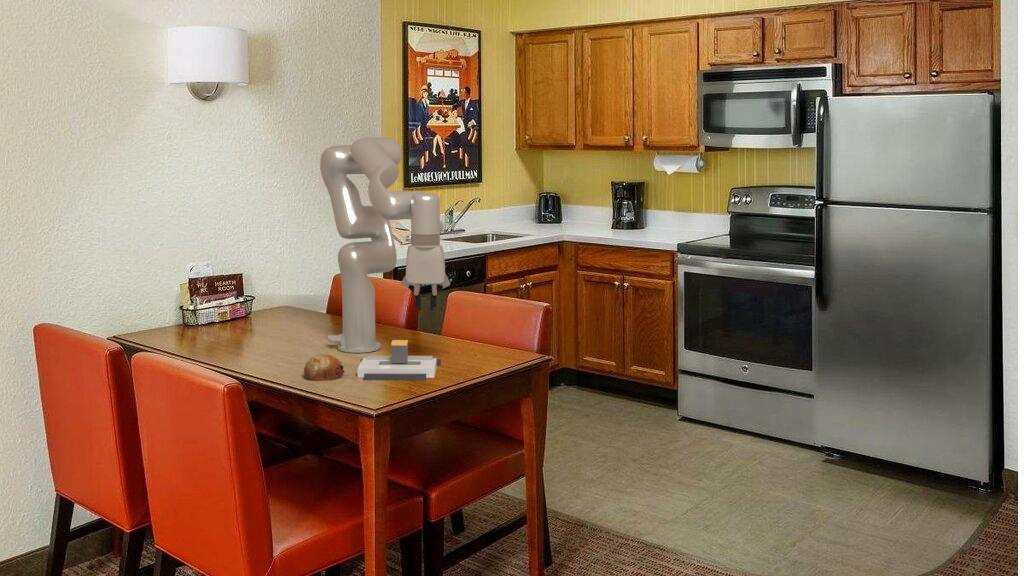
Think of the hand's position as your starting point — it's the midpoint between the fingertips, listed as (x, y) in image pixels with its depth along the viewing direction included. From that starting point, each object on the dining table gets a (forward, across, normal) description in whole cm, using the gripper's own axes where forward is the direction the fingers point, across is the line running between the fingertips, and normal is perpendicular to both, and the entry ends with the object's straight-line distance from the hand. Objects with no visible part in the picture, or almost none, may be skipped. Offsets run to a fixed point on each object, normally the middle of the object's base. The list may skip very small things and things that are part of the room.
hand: (425, 308), depth 256 cm
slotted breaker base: (+17, -8, 0) cm, 19 cm away
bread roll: (+18, -26, -5) cm, 32 cm away
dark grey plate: (+17, -8, 0) cm, 19 cm away
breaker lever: (+14, -7, 0) cm, 16 cm away
